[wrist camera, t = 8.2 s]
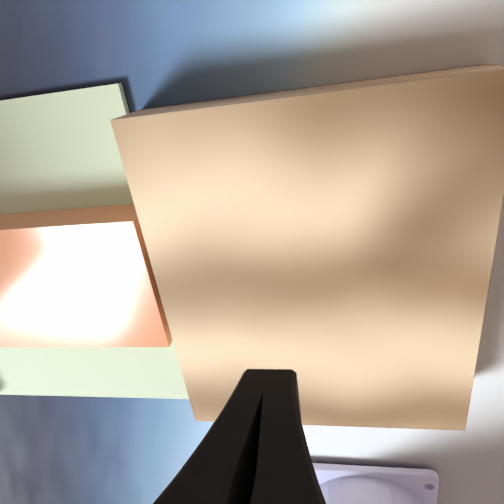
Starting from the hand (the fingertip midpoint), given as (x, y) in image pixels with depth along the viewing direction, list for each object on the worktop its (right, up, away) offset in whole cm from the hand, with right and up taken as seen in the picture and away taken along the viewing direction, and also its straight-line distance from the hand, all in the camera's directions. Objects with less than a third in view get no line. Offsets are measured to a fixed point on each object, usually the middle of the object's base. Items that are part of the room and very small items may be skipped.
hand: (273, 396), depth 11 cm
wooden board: (+2, +3, +6) cm, 7 cm away
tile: (-9, +3, +8) cm, 12 cm away
